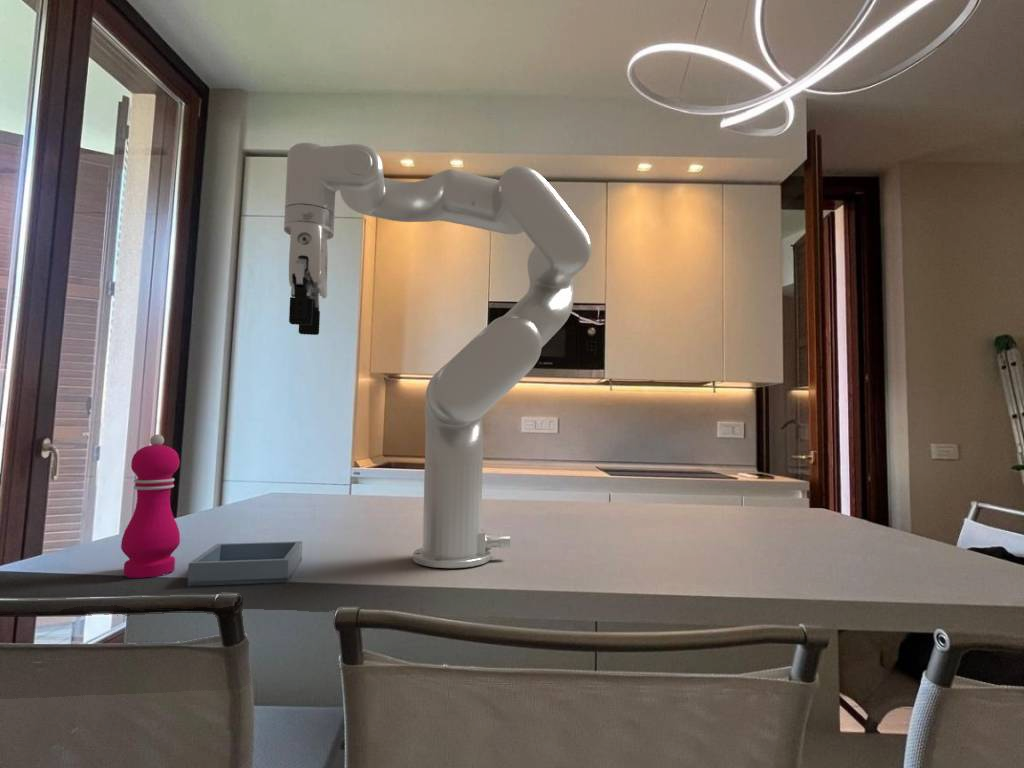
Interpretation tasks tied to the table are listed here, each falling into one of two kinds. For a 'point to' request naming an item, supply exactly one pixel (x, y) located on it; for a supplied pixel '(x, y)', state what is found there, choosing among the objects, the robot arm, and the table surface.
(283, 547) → the tray
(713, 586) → the table surface
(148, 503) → the pepper mill
